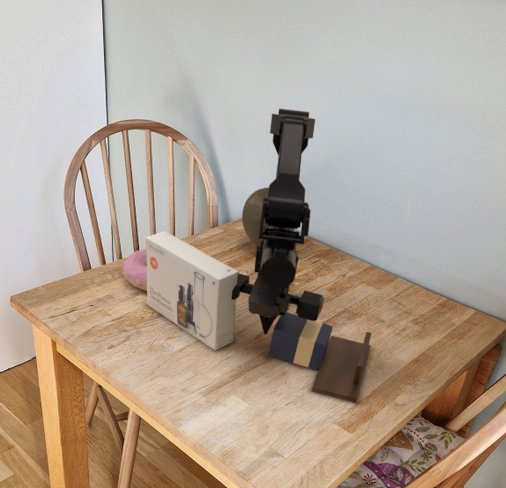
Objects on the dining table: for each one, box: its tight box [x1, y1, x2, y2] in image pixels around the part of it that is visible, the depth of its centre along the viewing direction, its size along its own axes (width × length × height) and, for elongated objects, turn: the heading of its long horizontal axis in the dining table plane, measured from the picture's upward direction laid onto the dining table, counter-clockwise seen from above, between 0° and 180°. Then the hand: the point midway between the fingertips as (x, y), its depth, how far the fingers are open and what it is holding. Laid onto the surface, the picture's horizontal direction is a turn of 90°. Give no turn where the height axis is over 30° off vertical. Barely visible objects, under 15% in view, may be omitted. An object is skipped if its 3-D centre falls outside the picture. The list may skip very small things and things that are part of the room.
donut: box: [121, 248, 147, 292], centre depth 136 cm, size 16×15×5 cm
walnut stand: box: [311, 331, 372, 404], centre depth 114 cm, size 8×18×5 cm, turn 163°
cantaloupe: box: [241, 186, 295, 247], centre depth 154 cm, size 14×14×15 cm
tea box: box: [267, 311, 334, 372], centre depth 116 cm, size 10×7×6 cm
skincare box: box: [145, 230, 239, 351], centre depth 119 cm, size 21×6×16 cm, turn 46°
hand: (265, 333), depth 118 cm, fingers closed
